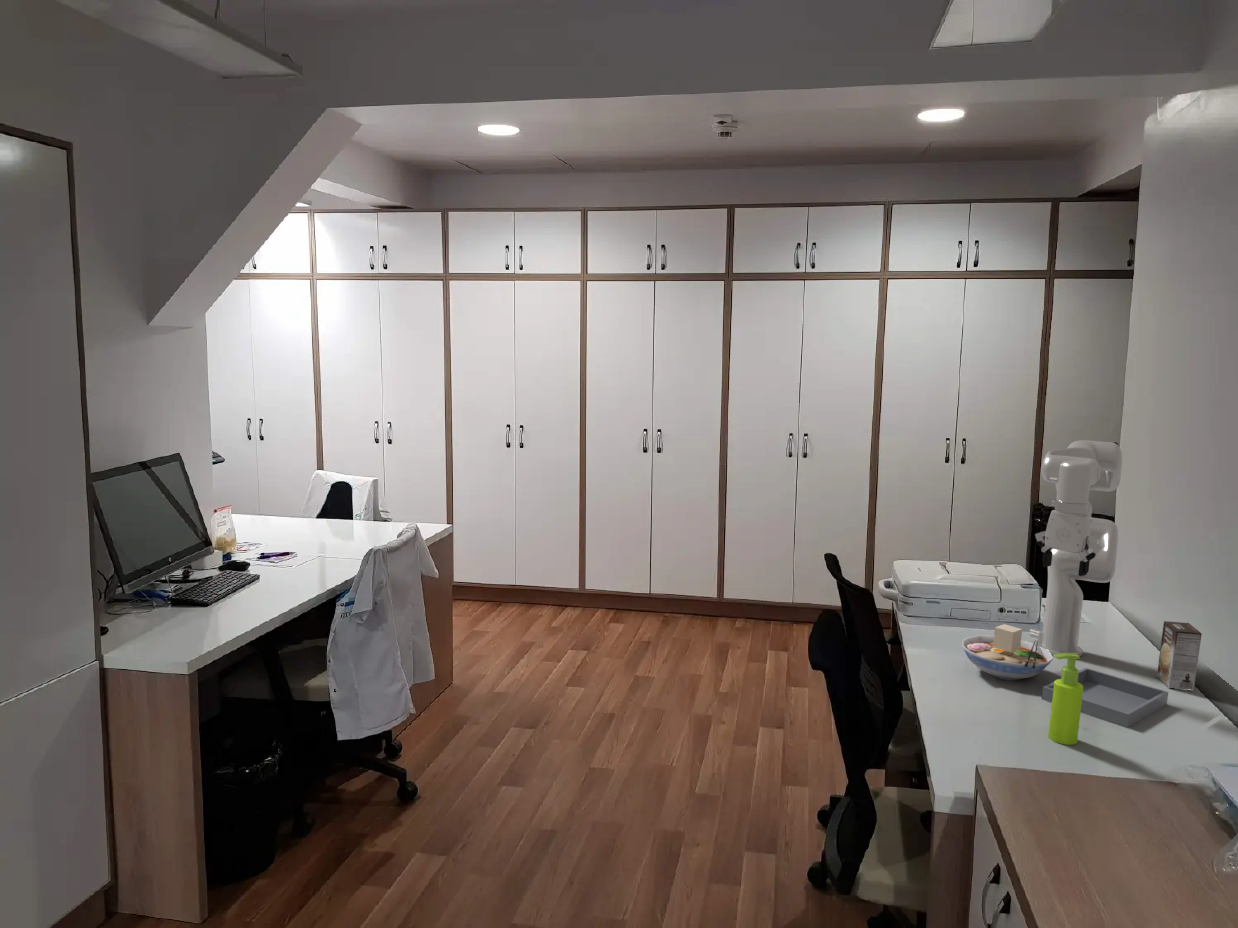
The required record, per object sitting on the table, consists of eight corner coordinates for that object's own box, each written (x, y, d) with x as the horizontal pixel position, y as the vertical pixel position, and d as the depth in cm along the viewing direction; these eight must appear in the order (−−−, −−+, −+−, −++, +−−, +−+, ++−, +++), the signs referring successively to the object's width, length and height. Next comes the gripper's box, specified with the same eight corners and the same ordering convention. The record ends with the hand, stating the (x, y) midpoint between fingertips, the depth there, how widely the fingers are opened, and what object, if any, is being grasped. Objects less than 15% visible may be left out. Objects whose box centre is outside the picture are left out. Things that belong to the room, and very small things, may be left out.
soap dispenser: (1038, 733, 205) (1047, 649, 203) (1067, 733, 206) (1076, 649, 203) (1053, 744, 199) (1062, 658, 197) (1082, 744, 200) (1092, 659, 197)
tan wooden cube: (993, 646, 241) (994, 627, 240) (1002, 643, 244) (1004, 624, 243) (1010, 652, 237) (1013, 632, 236) (1020, 648, 240) (1022, 629, 240)
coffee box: (1155, 676, 245) (1162, 620, 243) (1181, 679, 244) (1188, 622, 242) (1168, 689, 236) (1176, 630, 234) (1195, 691, 235) (1203, 632, 233)
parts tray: (1041, 701, 224) (1042, 686, 223) (1084, 681, 239) (1085, 667, 239) (1126, 730, 209) (1128, 714, 208) (1166, 707, 224) (1168, 691, 223)
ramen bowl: (966, 653, 258) (969, 626, 257) (1054, 670, 247) (1057, 642, 246) (951, 680, 237) (954, 650, 235) (1046, 700, 225) (1049, 669, 224)
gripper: (1032, 503, 240) (1025, 565, 243) (1097, 515, 226) (1090, 581, 229) (1047, 500, 245) (1040, 561, 247) (1111, 512, 231) (1104, 576, 234)
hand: (1064, 570), depth 238 cm, fingers open, 9 cm apart
